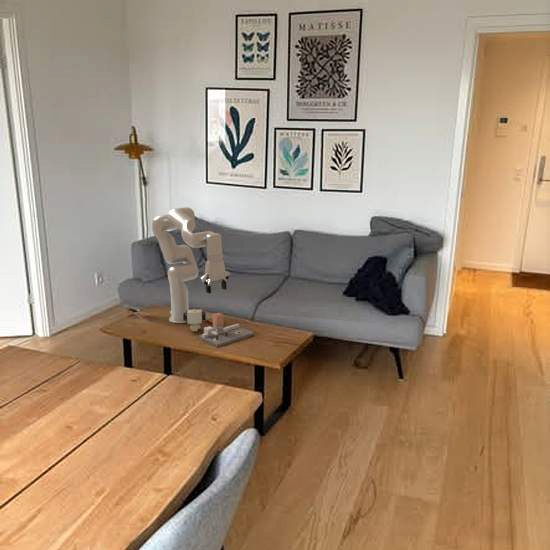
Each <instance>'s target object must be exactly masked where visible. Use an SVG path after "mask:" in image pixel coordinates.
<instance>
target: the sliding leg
mask: <svg viewBox="0 0 550 550" xmlns="http://www.w3.org/2000/svg"><path fill="white" fill-rule="evenodd" d="M211 316H212V320H211V321H212V326H213V328H214V331H215V330H216V331H223V332H225V333H226V336H227V330H225V329H223V328H224V324H225V323H224V313H221V312H219V311H218V312H216V313H212V315H211Z"/></svg>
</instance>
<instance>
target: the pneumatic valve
mask: <svg viewBox="0 0 550 550" xmlns="http://www.w3.org/2000/svg"><path fill="white" fill-rule="evenodd" d="M183 320H184V321H186V325H187V324H189V325H190V327H189V328H190V331H191V332H199V331H198V329H199V330H201V325H200V324H204V321H207V312H206V311H204V309H196V308H193V309H189V310H186V313H183Z"/></svg>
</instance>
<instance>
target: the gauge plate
mask: <svg viewBox="0 0 550 550" xmlns="http://www.w3.org/2000/svg"><path fill="white" fill-rule="evenodd" d="M223 329H225V330H227V336H226V333H225V332H223V331H216V330H214V328H213V327H212V326H210V325H209V326H205V327H203V333H202V334H199V335H197V339H198V338H200V339H202V340H204V341H206V342H208V343H207V344H209V343H210V344H209V345H211V344H212V345H211V346H213V345H214V346H213V347H215V346H216V347H215V348H219V347H218V346H220V345H223V346H225V345H224V344H226V345H228V344H227V343H229V344H231V342H232V343H235V342H237V340H238V341H240V339H241V340H244V339H246V338H245V337H247V338H249V336H250V337H252V335H253V336H254V335H255V332H253V331H251V330H249V329H246V328H244V327H241V326H240V323H236V324H235V323H234V324H231V325H229V326H225V327H223ZM243 338H244V339H243ZM200 339H199V340H200ZM202 340H201V341H202ZM204 341H203V342H204ZM234 341H235V342H234ZM206 342H205V343H206ZM220 347H221V346H220Z"/></svg>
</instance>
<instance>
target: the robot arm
mask: <svg viewBox="0 0 550 550" xmlns="http://www.w3.org/2000/svg"><path fill="white" fill-rule="evenodd" d="M195 214H196V213H195V211H194V210H193V209H192V208H191V207H188V206H185V207H177V208H173V209H171V210H169V211H168V214H161V215H157V216H156V217H154V218H153V220H152V221H151V229H152V232H153V234H154V236H155V239H156V240H157V241H158V244H159V246H160V249H161V252H162V255H163V257H164V260H165V262H166V263H167V264H168V265H172V266H171V267H169V268H168V270H167V278H168V283H169V290H170V292H169V293H170V309H171V310H170V311H169V313H170V314H171V316H170V317H168V318H169V319H168V321H169V322H170V323H173V324H185V323H186V321H184V320H183V313H186V310H190V309H189V290H188V286H187V285H186V284H185V282H186V281H192V280H195V279H196V278H197V277H199V272H200V271H199V267H198V265H197V262H196V259H195V256H194V254H193V251H192V249H191V248H193V249H198V248H204V247H206V258H207V259H206V260H207V261H205V265H204V268H205V269H204V275H203V276H201V277H200V280H201V282H202V283H203V284H204V285H205V291H206V293H207V294H212V287H211V283H212V282H216V281H220V280H221V289H222V290H227V282H228V279H229V278H230V277H229V276H230V275H231V272H230V271H228V270H226V267H225V261H224V259H223V258H224V256H225V255H224V254H223V244H222V234H220V233H217V232H213V231H211V230H209V231H208V230H206V231H200V232H195V233H194V232H193V231H194V230H195V229H196V221H195V218H196V215H195ZM169 230H179V231H181V232H180V234H181V238H182V239H183V242H184V243H186V244H180V245H178V244H177V243H176V240H175V238H174V236H173V235H172V234H171V233H170V232H168V231H169ZM179 263H181V264H179ZM174 264H175V265H174Z"/></svg>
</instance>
